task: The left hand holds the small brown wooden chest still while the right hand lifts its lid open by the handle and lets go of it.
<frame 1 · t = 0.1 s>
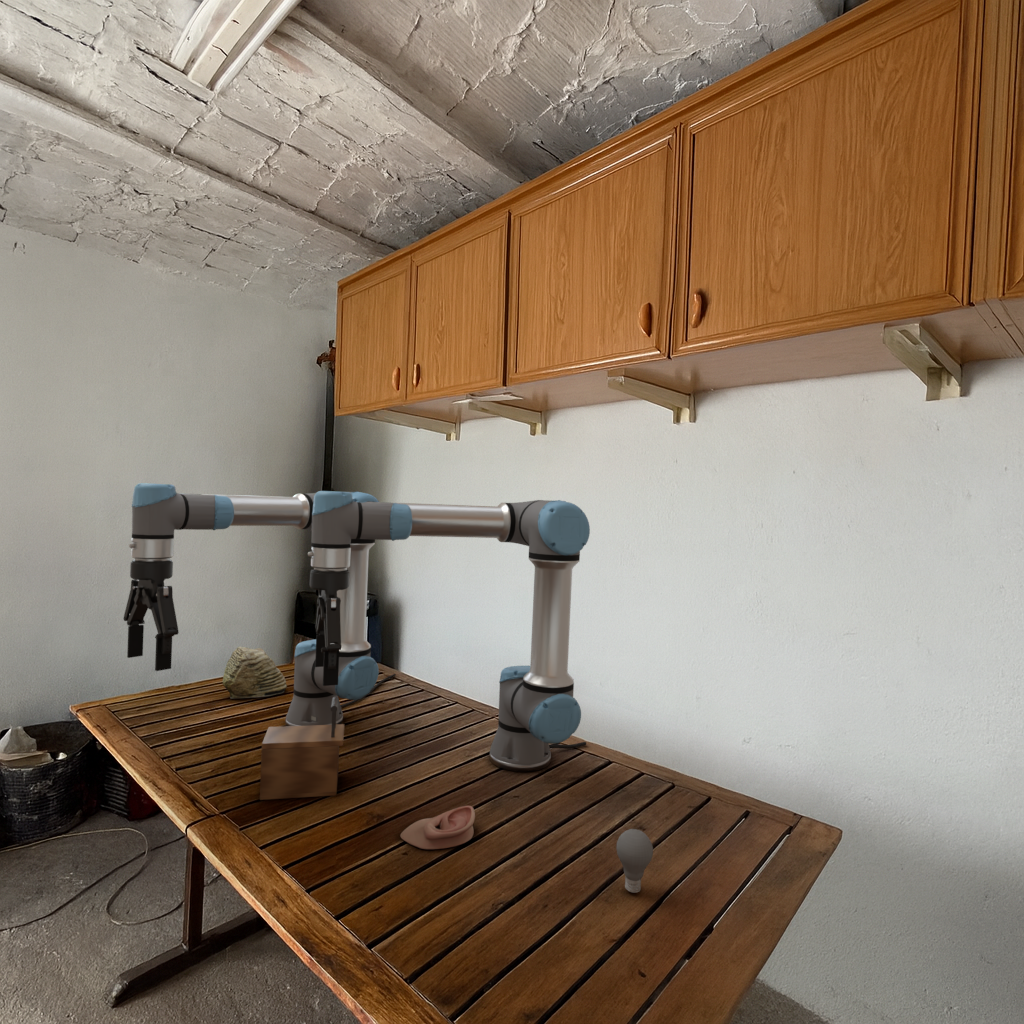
left hand: (148, 663, 129), 28 cm above the table, tool pointing down, fingers open, 13 cm apart
right hand: (326, 675, 126), 28 cm above the table, tool pointing down, fingers open, 13 cm apart
light bulb: (632, 891, 106), on the table
anatomical model: (438, 835, 121), on the table
chest: (300, 787, 138), on the table
lid: (305, 720, 138), point 15 cm above the table, hinge at 0.0°
fossil: (254, 694, 198), on the table
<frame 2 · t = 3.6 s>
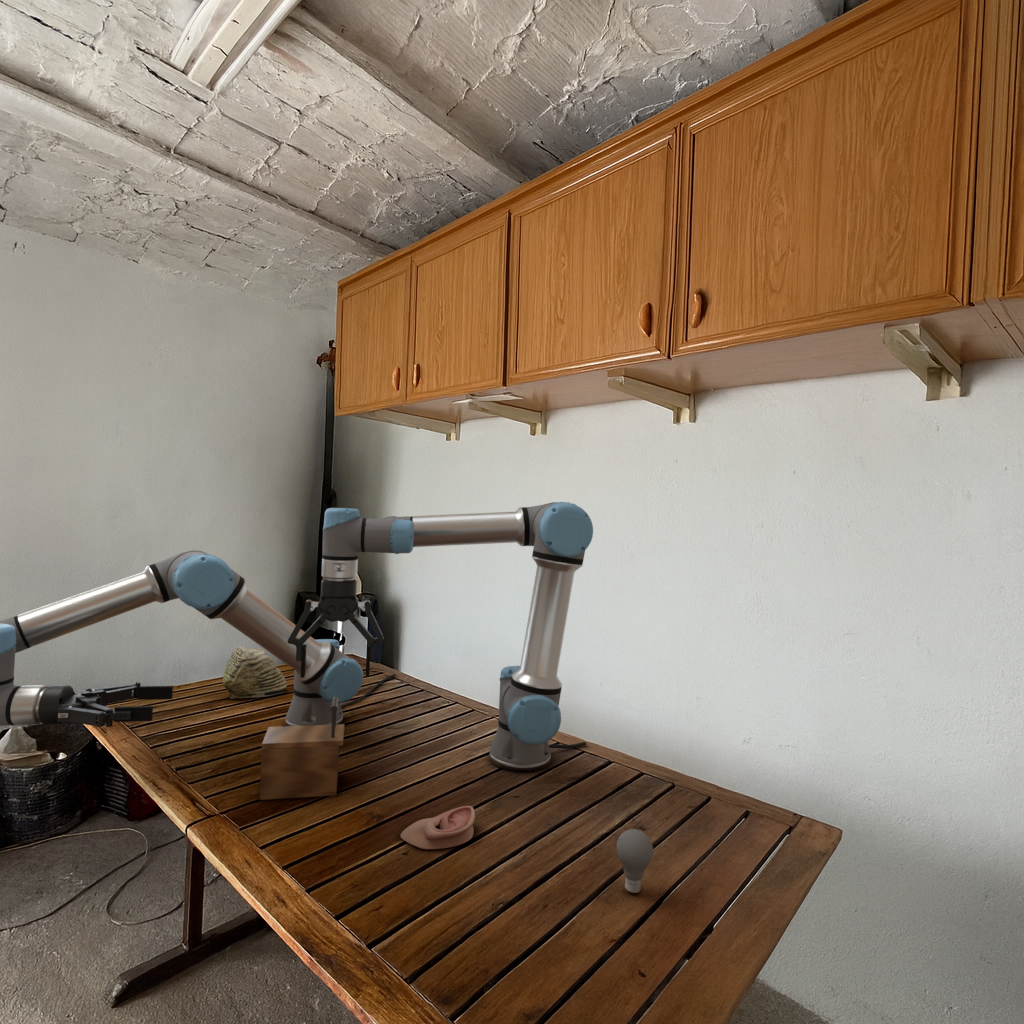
left hand: (162, 702, 131), 19 cm above the table, tool horizontal, fingers open, 13 cm apart
right hand: (335, 675, 139), 24 cm above the table, tool pointing down, fingers open, 13 cm apart
nothing on the table moved.
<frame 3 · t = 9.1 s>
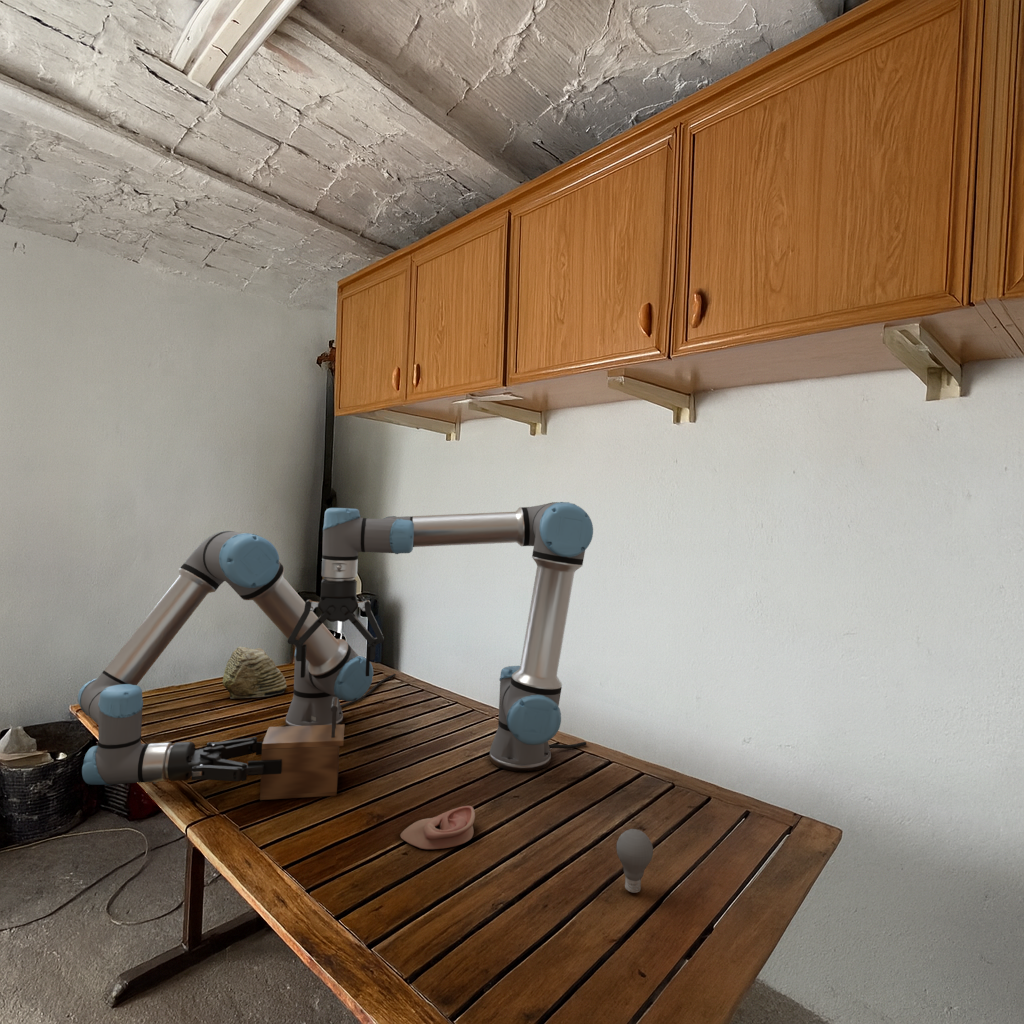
left hand: (284, 756, 137), 7 cm above the table, tool horizontal, fingers closed on chest, 10 cm apart
right hand: (335, 675, 139), 24 cm above the table, tool pointing down, fingers open, 13 cm apart
chest: (300, 787, 138), on the table, touching left hand
everything else where it was.
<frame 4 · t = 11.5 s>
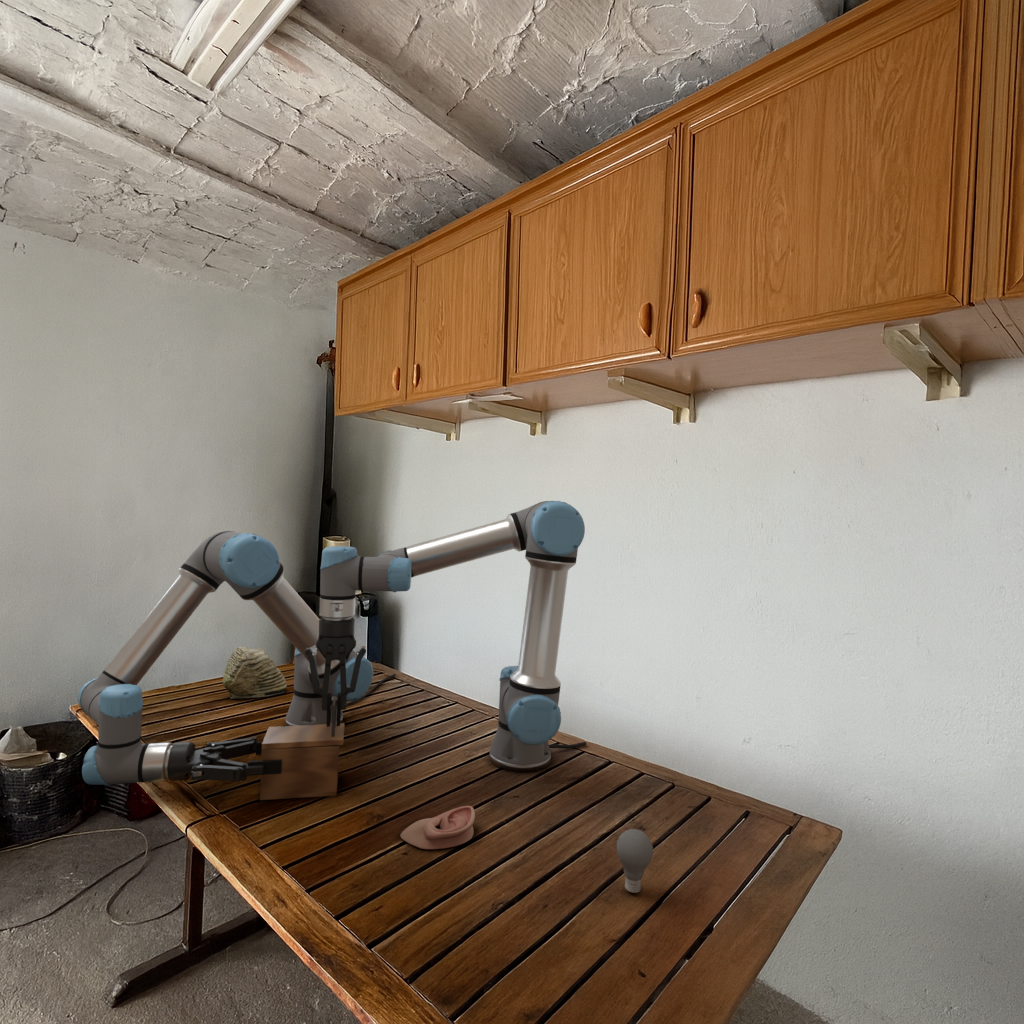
left hand: (284, 756, 137), 7 cm above the table, tool horizontal, fingers closed on chest, 10 cm apart
right hand: (333, 724, 139), 14 cm above the table, tool pointing down, fingers closed on lid
chest: (300, 787, 138), on the table, touching left hand
lid: (305, 719, 137), point 15 cm above the table, hinge at 0.8°, touching right hand
everything else where it was.
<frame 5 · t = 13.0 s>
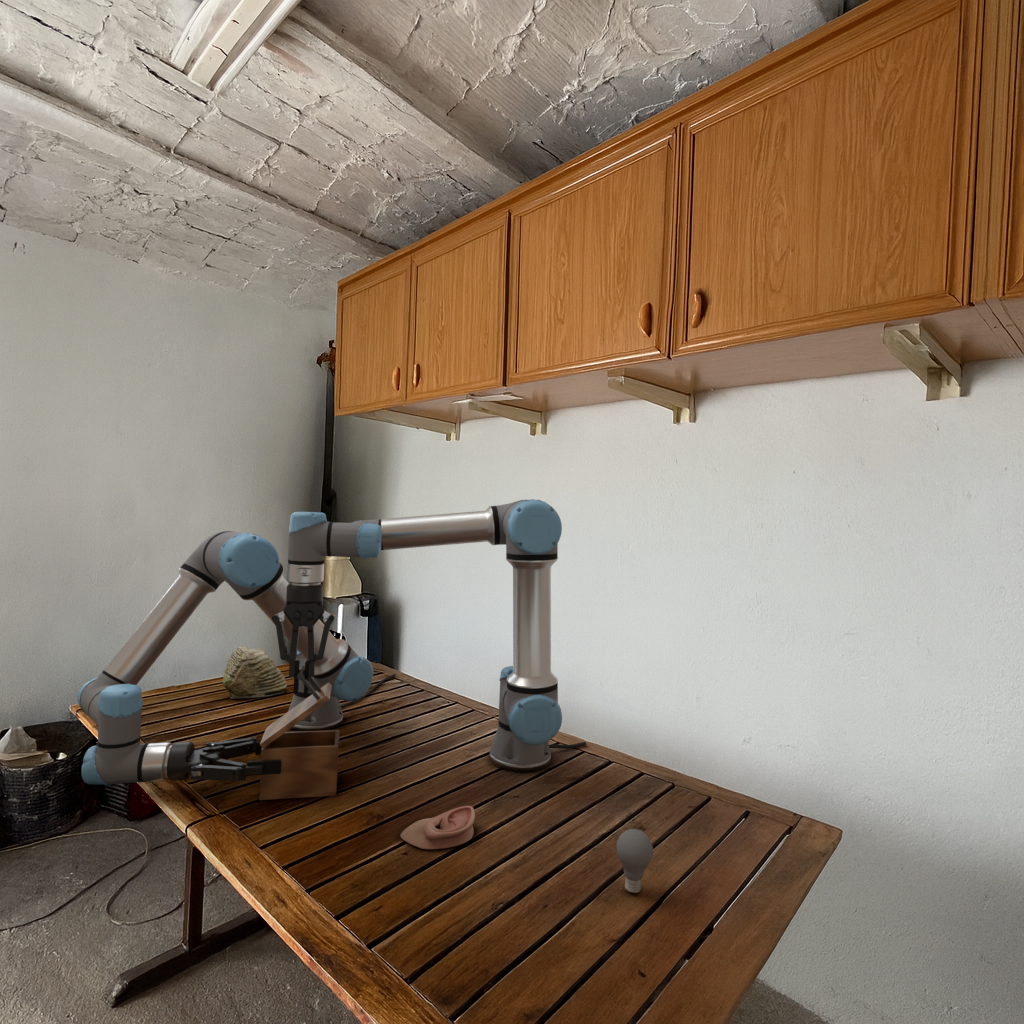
left hand: (283, 756, 137), 7 cm above the table, tool horizontal, fingers closed on chest, 10 cm apart
right hand: (301, 691, 137), 21 cm above the table, tool pointing down, fingers closed on lid
chest: (300, 787, 138), on the table, touching left hand
lid: (287, 701, 136), point 19 cm above the table, hinge at 37.4°, touching right hand
everything else where it was.
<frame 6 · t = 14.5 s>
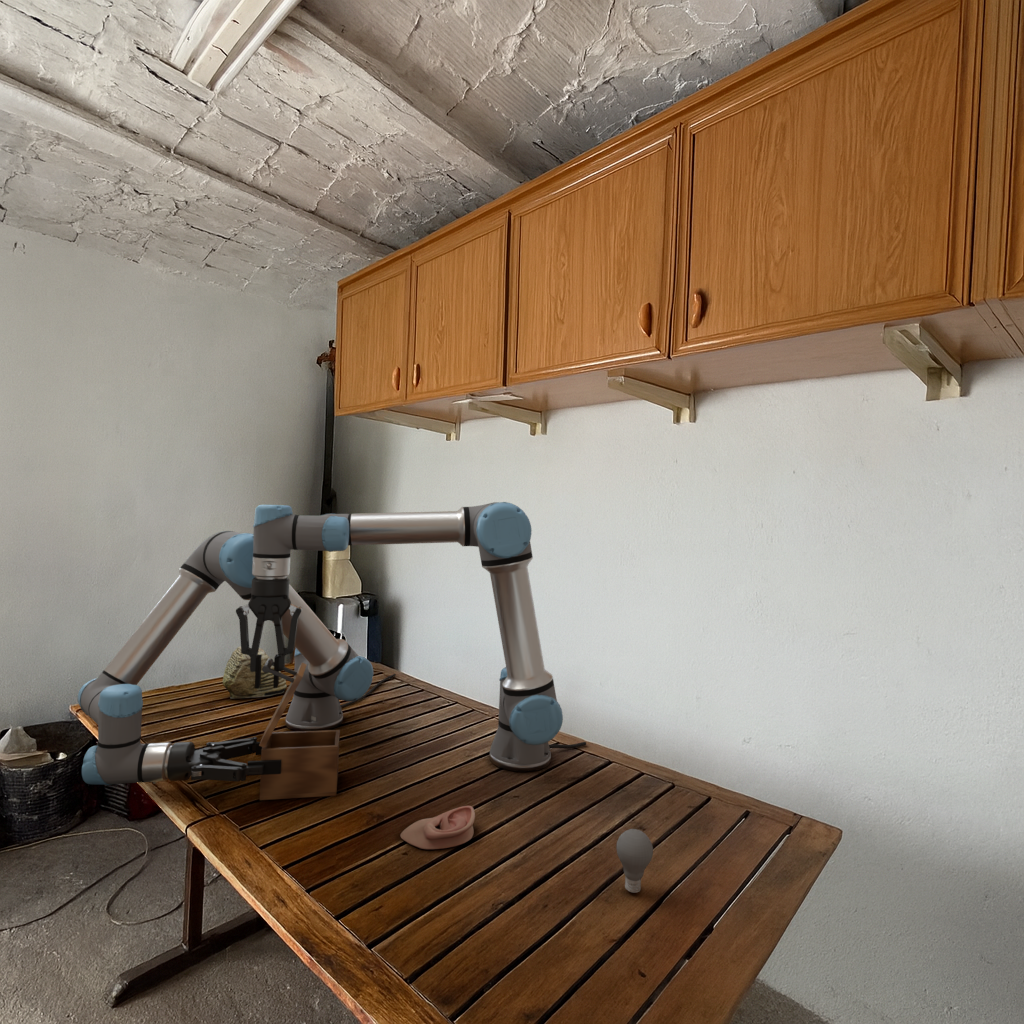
left hand: (284, 756, 137), 7 cm above the table, tool horizontal, fingers closed on chest, 10 cm apart
right hand: (266, 686, 135), 22 cm above the table, tool pointing down, fingers open, 3 cm apart
chest: (300, 787, 138), on the table, touching left hand
lid: (268, 696, 136), point 20 cm above the table, hinge at 64.2°
everything else where it was.
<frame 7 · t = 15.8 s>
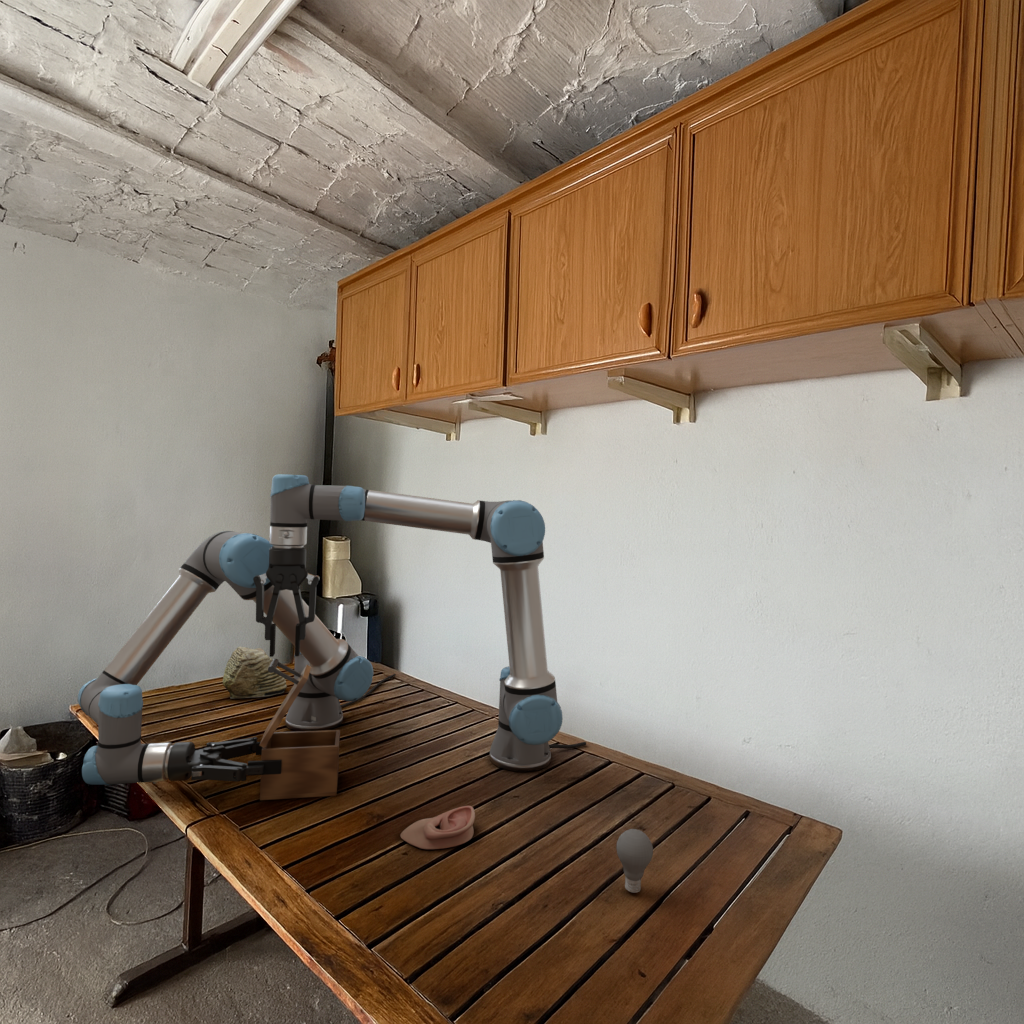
left hand: (284, 756, 137), 7 cm above the table, tool horizontal, fingers closed on chest, 10 cm apart
right hand: (284, 654, 136), 29 cm above the table, tool pointing down, fingers open, 4 cm apart
chest: (300, 787, 138), on the table, touching left hand
lid: (271, 697, 136), point 20 cm above the table, hinge at 60.2°
everything else where it was.
when the left hand's fingers open (7 cm above the table, at t = 18.5 s): chest stays where it is, on the table.
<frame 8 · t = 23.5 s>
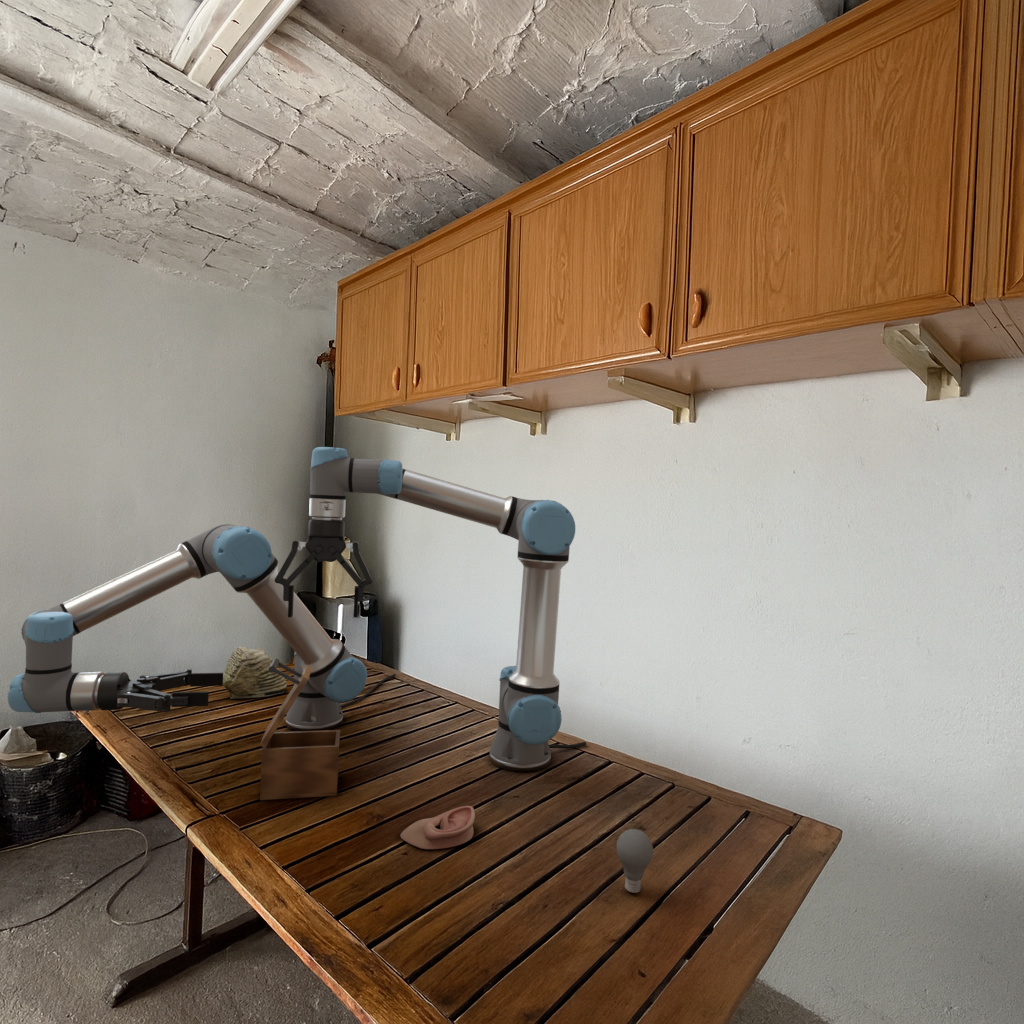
left hand: (216, 688, 133), 22 cm above the table, tool horizontal, fingers open, 13 cm apart
right hand: (323, 616, 138), 37 cm above the table, tool pointing down, fingers open, 13 cm apart
chest: (300, 787, 138), on the table
lid: (272, 697, 136), point 20 cm above the table, hinge at 59.8°
everything else where it was.
at the end: lid at +60° (first picture: +0°); the left hand is holding nothing; the right hand is holding nothing; chest tilted 0°; chest never tilted more than 1° during the clip; chest moved 0.1 cm from its start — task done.
